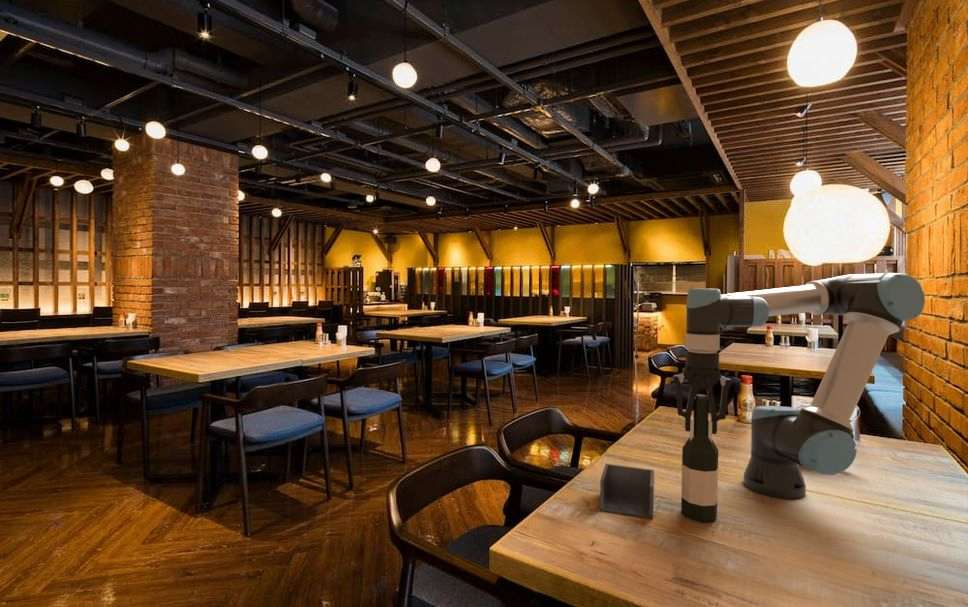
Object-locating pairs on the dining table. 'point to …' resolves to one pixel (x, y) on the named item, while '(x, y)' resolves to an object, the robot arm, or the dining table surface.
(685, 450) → the wine bottle
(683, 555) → the dining table surface
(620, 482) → the bottle rest
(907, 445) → the dining table surface
